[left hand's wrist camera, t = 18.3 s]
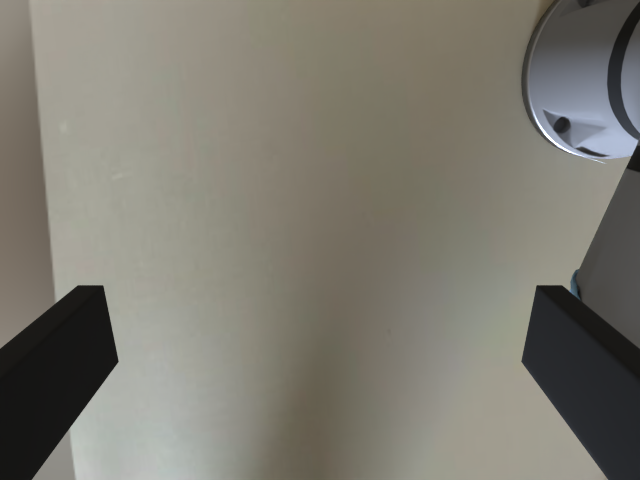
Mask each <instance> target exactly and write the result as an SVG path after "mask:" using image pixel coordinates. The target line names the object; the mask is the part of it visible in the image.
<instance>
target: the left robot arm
mask: <svg viewBox="0 0 640 480" xmlns="http://www.w3.org/2000/svg"><path fill="white" fill-rule="evenodd" d="M522 95H523V101H524V105H525V108H526V111H527V114H528V116H529V118H530V120H531V122H532V124H533V126H534V127H535V128H536V130H537V131H538V132H539V134H540V135H541V136H542V137H543V138H544V139H545V140H547V141H548V142H549V143H550V144H552V145H553V146H555V147H557V148H559V149H561V150H563V151H565V152H568V153H571V154H575V155H579V156H583V157H586V158H587V157H588V158H589V159H590V158H604V159H609V158H621V157H627V156H631V155H632V157H631V159H630V161H629V163H628V165H627V168H626V169H625V171H624V173H623V175H622V178H621V180H620V182H619V184H618V186H617V188H616V191H615V193H614V195H613V197H612V199H611V201H610V204H609V206H608V208H607V210H606V212H605V214H604V217H603V219H602V221H601V223H600V225H599V227H598V230H597V232H596V234H595V236H594V238H593V241H592V243H591V245H590V247H589V249H588V251H587V254H586V256H585V258H584V260H583V262H582V264H581V267H580V269H578V270H576V271H575V272H574V274H573V276H572V279H571V289H570V292H569V291H568V290H567V289H566V288H565V287H563V286H562V285H537V287H536V292H535V297H534V302H533V307H532V312H531V317H530V322H529V327H528V332H527V337H526V342H525V346H524V351H523V356H522V361H521V362H522V363H523V364H524V366H525V367H526V369H527V370H528V371H529V373H530V374H531V375H532V377H533V378H534V379H535V381H536V382H537V383H538V385H539V386H540V388H541V389H542V390H543V392H544V393H545V394H546V396H547V397H548V398H549V400H550V401H551V403H552V404H553V405H554V407H555V408H556V409H557V411H558V412H559V413H560V415H561V416H562V417H563V419H564V420H565V422H566V423H567V424H568V426H569V427H570V428H571V430H572V431H573V432H574V434H575V435H576V436H577V438H578V439H579V441H580V442H581V443H582V445H583V446H584V447H585V449H586V450H587V451H588V453H589V454H590V455H591V457H592V458H593V460H594V461H595V462H596V464H597V465H598V466H599V468H600V469H601V470H602V472H603V473H604V474H605V476H606V477H607V479H608V480H640V0H555V1H554V2H553V4H552V5H551V6H550V7H549V8H548V10H547V11H546V13H545V14H544V15H543V17H542V18H541V20H540V22H539V23H538V25H537V27H536V28H535V31H534V33H533V35H532V37H531V39H530V42H529V44H528V47H527V50H526V54H525V58H524V63H523V69H522ZM592 160H593V159H592ZM595 161H597V160H595ZM599 162H600V161H599ZM602 163H603V162H602ZM118 362H119V361H118V356H117V351H116V346H115V342H114V337H113V332H112V327H111V322H110V317H109V312H108V307H107V302H106V297H105V292H104V287H103V285H78V286H77V287H75V288H74V289H73V290H72V291H71V292H69V293H68V294H67V295H66V296H64V297H63V298H62V299H61V300H59V301H58V302H57V303H56V304H55V305H53V306H52V307H51V308H50V309H48V310H47V311H46V312H45V313H44V314H42V315H41V316H40V317H39V318H37V319H36V320H35V321H34V322H33V323H31V324H30V325H29V326H28V327H26V328H25V329H24V330H23V331H21V332H20V333H19V334H18V335H17V336H15V337H14V338H13V339H12V340H10V341H9V342H8V343H7V344H6V345H4V346H3V347H2V348H1V349H0V480H32V479H33V477H34V476H35V474H36V473H37V472H38V470H39V469H40V468H41V466H42V465H43V464H44V462H45V461H46V460H47V458H48V457H49V455H50V454H51V453H52V451H53V450H54V449H55V447H56V446H57V445H58V443H59V442H60V440H61V439H62V438H63V436H64V435H65V434H66V432H67V431H68V430H69V428H70V427H71V426H72V424H73V423H74V422H75V420H76V419H77V417H78V416H79V415H80V413H81V412H82V411H83V409H84V408H85V407H86V405H87V404H88V403H89V401H90V400H91V398H92V397H93V396H94V394H95V393H96V392H97V390H98V389H99V388H100V386H101V385H102V383H103V382H104V381H105V379H106V378H107V377H108V375H109V374H110V373H111V371H112V370H113V369H114V367H115V366H116V364H117V363H118Z"/></svg>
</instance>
